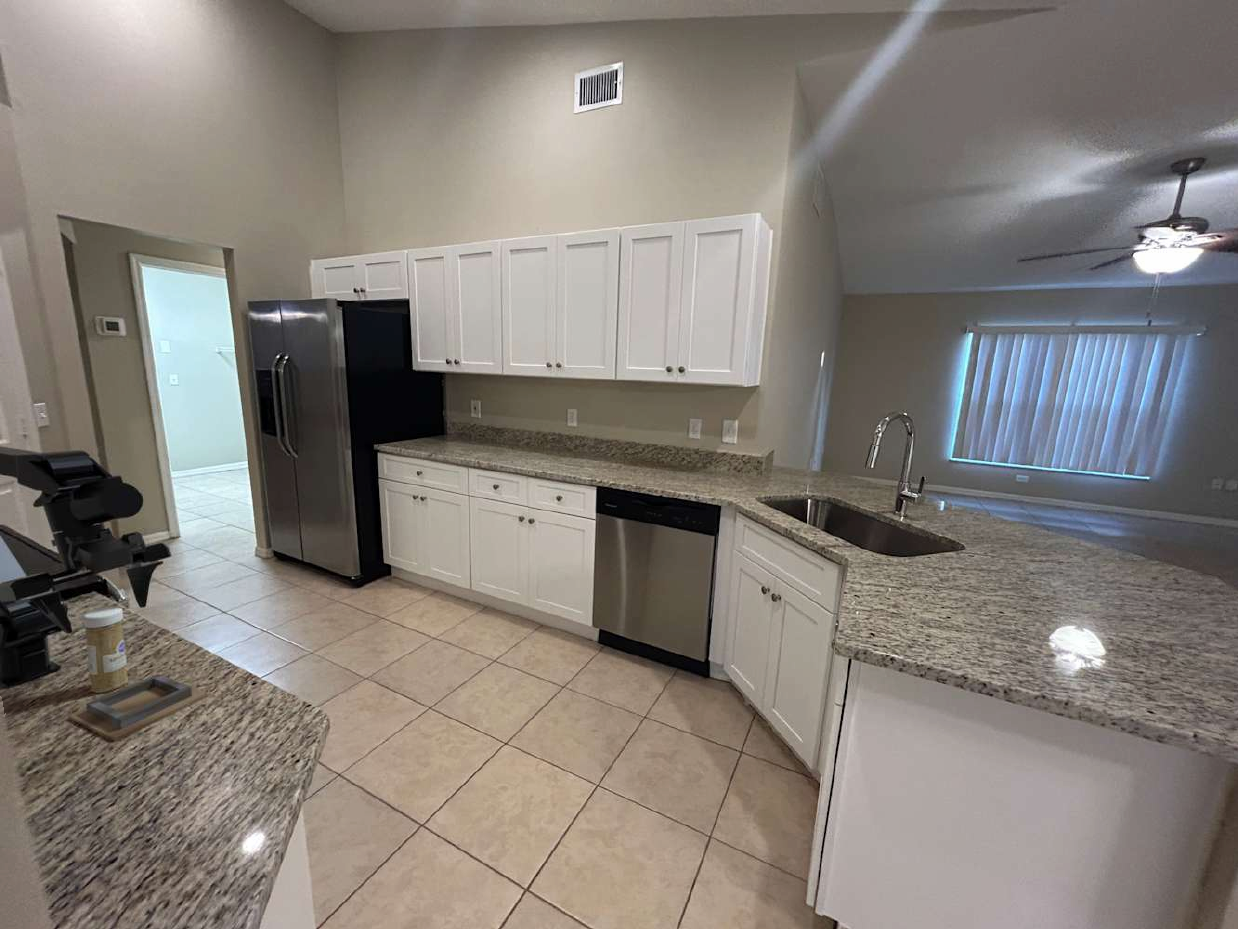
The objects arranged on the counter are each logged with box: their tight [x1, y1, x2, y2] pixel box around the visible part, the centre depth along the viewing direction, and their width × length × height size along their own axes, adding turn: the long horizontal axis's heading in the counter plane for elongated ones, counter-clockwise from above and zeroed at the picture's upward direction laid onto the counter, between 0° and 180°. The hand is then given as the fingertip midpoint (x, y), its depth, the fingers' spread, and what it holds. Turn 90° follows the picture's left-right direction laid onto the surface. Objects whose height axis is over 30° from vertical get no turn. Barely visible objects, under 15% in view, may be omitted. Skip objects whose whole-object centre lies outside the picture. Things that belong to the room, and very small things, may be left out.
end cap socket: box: [68, 673, 209, 743], centre depth 79 cm, size 12×12×2 cm
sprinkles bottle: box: [82, 605, 129, 694], centre depth 82 cm, size 5×5×13 cm
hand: (108, 619), depth 81 cm, fingers open, 9 cm apart
